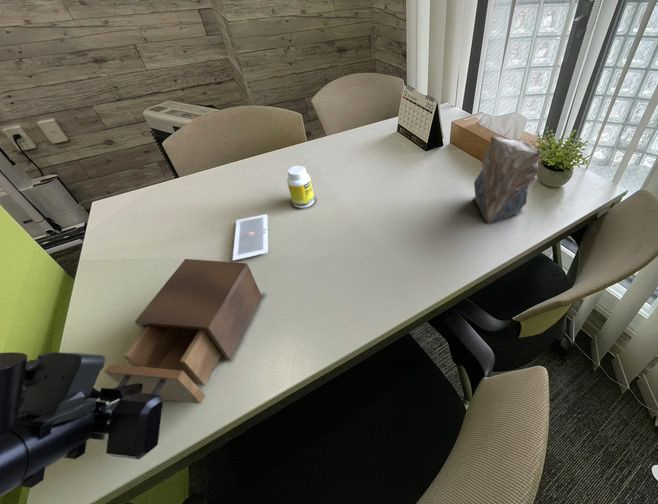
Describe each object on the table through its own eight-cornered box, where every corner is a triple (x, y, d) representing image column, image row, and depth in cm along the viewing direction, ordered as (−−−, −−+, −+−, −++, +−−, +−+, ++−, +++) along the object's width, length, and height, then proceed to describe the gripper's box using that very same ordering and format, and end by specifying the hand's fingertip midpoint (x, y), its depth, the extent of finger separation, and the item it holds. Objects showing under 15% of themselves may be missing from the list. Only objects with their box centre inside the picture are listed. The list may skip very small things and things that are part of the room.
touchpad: (234, 263, 76) (231, 257, 75) (237, 223, 87) (235, 217, 86) (269, 255, 78) (266, 249, 77) (268, 217, 89) (266, 211, 88)
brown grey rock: (470, 195, 97) (480, 134, 84) (510, 191, 98) (526, 131, 86) (485, 223, 87) (499, 159, 74) (529, 219, 88) (551, 154, 76)
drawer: (183, 438, 48) (155, 416, 43) (112, 430, 49) (76, 407, 44) (238, 331, 62) (222, 304, 56) (181, 326, 62) (160, 299, 57)
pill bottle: (312, 208, 92) (304, 176, 85) (290, 208, 92) (281, 176, 85) (316, 195, 97) (310, 163, 90) (296, 195, 97) (288, 163, 90)
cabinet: (230, 359, 58) (208, 327, 52) (164, 353, 59) (134, 321, 53) (262, 296, 69) (247, 263, 62) (205, 292, 70) (185, 258, 63)
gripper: (103, 383, 31) (208, 334, 47) (-69, 366, 33) (88, 324, 48) (86, 507, 30) (199, 415, 46) (-91, 484, 32) (77, 402, 47)
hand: (140, 386), depth 47 cm, fingers closed, pressing on drawer
